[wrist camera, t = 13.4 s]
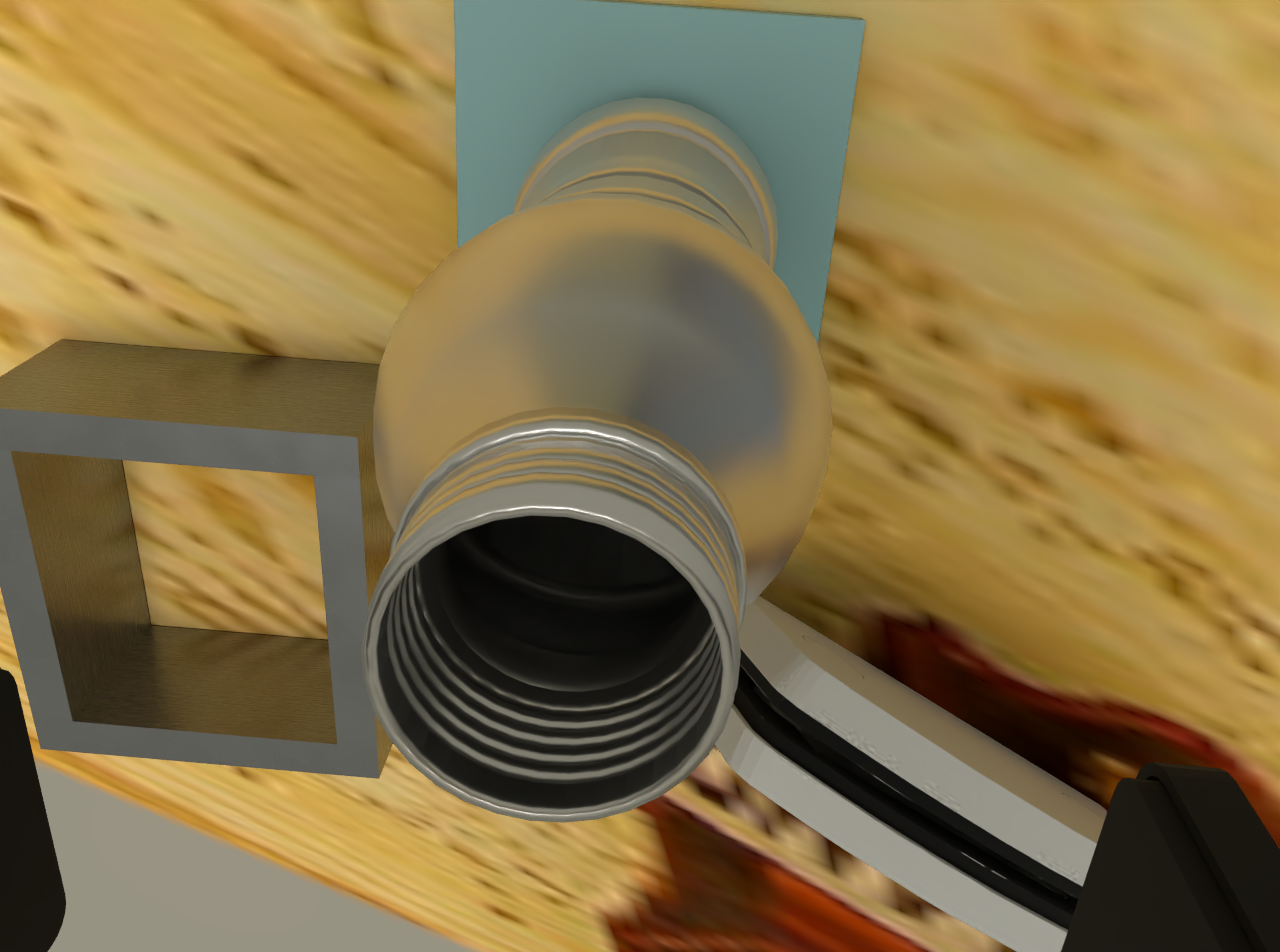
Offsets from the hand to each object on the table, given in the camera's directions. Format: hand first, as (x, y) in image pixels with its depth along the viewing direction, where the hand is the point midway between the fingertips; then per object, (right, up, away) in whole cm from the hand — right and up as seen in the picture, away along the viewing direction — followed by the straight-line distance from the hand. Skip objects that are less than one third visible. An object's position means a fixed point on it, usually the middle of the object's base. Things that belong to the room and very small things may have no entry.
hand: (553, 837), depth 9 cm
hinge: (+10, -5, +27) cm, 29 cm away
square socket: (-12, +2, +25) cm, 28 cm away
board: (+1, +10, +20) cm, 22 cm away
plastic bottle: (+1, +10, +19) cm, 21 cm away
